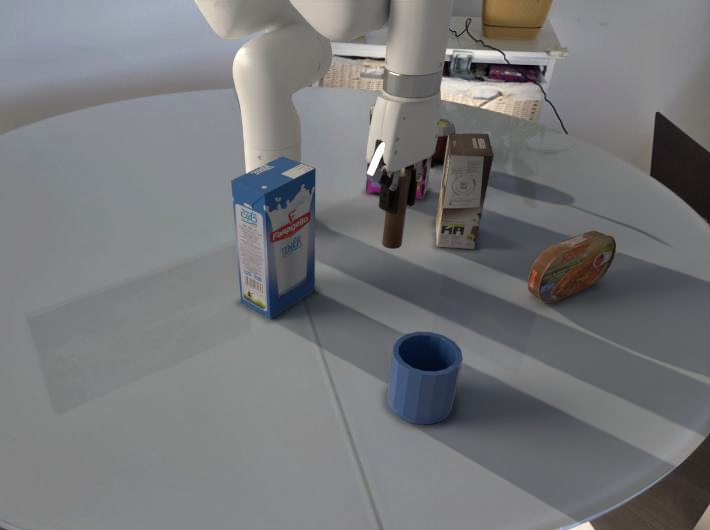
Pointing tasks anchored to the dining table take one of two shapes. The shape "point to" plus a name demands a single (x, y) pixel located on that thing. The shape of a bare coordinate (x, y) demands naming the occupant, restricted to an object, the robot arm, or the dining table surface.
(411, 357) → the cup
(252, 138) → the robot arm
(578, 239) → the tin
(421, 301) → the dining table surface
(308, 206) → the milk carton
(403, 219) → the dowel
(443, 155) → the mate gourd
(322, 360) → the dining table surface
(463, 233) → the coffee box
